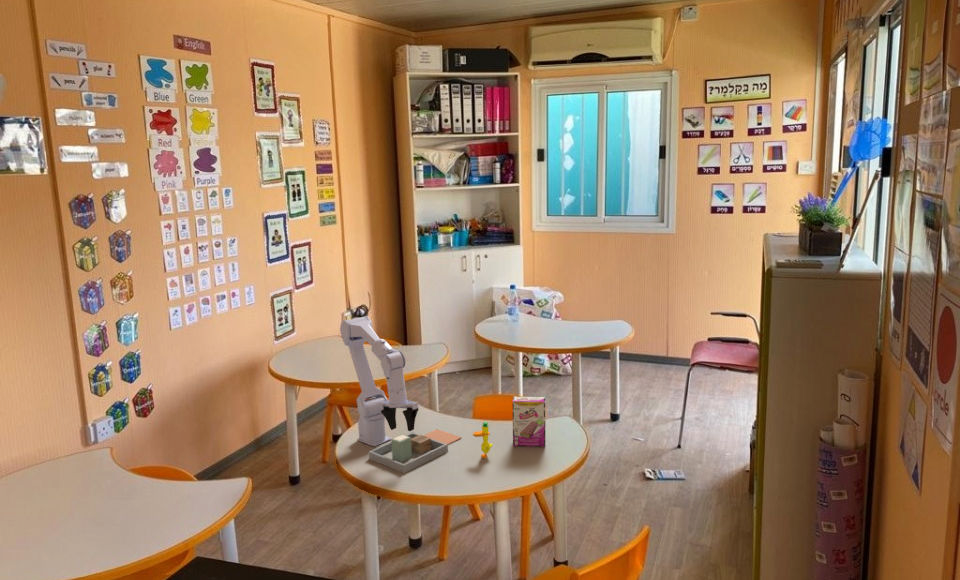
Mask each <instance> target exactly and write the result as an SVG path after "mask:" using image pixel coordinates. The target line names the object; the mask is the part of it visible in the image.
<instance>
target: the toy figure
mask: <svg viewBox="0 0 960 580" xmlns="http://www.w3.org/2000/svg"><path fill="white" fill-rule="evenodd" d="M490 434H491V433H490V432H489V423H488V422H487V421H483V422H482V424H481V430H479V431H473V433H472V436H473V437H475V438H480V437H482V443H481V445H480V448H481V449H480V450H481V451H482V452H483V453H482V454H481V455H480V456H481V458H482V459H486V458H489V457H488V453H489V452H490V450H491V449H492V448H493V445H494V443H490V442H489V435H490Z"/></svg>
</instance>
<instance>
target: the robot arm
mask: <svg viewBox="0 0 960 580" xmlns="http://www.w3.org/2000/svg"><path fill="white" fill-rule="evenodd" d="M339 331H340V335H341V338H342V339H341V340H342V342H343V344H344V346H347V347H348V350H349V353H350V355H351V360H352V363H353V366H354V371H355V373H356V377H357V380H358V383H359V387H360V389H361V393H360V394H359V395H358V396H357V398H356V405H357V413H358V415H359V419H358V421H357V422H358V425H357V426H358V428H357V429H358V438H357V439H356V440H357V441H359V442H362V443H363V444H367V445H369V446H371V447H378V446H380V445H382V444H384V443H386V442H388V441H391V439H392V437H390V436H387V434H386V422H387V424H388V426H389V429H390V431H393V430H395V429H397V420H396V418H397V416H396V414H397V409H404V410H402V414H403V416H404V418H405V421H406V427H407V431H408V432H411V431H413V430H415V423H416V419H417V418H416V417H417V414H418V412H419V403H418V401H412V400H409V399H408V397H407V396H408V395H407V388H406V382H405V374H404V368H405V366H406V357H405V355H404V354H403V352H402V351H401V350H397V349H394V348H393V347H392V346H391V345H390V344H389V343H388V341H386V340H385V339H384V338H380V337H379V336H378V335H377V333H376V331H374V329H373V322H372V320H371V318H369V316H368V315H364V316H362V317H355V318H350V319H343V320H342V321H341V322H340V327H339ZM364 343H368V344H369V345H370V346H371V353H373V354H374V355H375V357H376V358H377V359H378V360H379V361H380V366H381V369H382V371H383V376H384V377H385V378H386V380H385V381H386V386H387V393H388V398H387V396H386V394H385V392H384V390H382V389H380V388H378V387H376V384H375V383H376V382H375V380H374V376H373V374H372V370H371V367H370V363H369V361H368V357H367V354H366V350H365V348H364V347H365V346H364Z"/></svg>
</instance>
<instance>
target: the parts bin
mask: <svg viewBox="0 0 960 580" xmlns="http://www.w3.org/2000/svg"><path fill="white" fill-rule="evenodd" d="M404 435H405V436H408V437H411V439H412V438H414V437H416V436H418V435H420V434H419V433H416V432H410V433H407V434H404ZM431 448H434V449H432V450H429V452H428V451H427V452H426V453H424V454H422V455H420V456H417V457H416V458H414V459H412V460H410V461H407V462H406V463H403V462H401V463H400V462H398V461H395V460H393V459H392V458H390V457H387V456H384V454H386V453H389V452H390V451H392V443H391V441H390V442H387V443H385V444H383V445H381V446H380V445H379V447H378V446H377V447H376V448H374V449H372V450H369V451H368V459H369V460H371V461H373V462H375V463H379V464H380V465H384V466H386V467H389V468H391V469H393V470H395V471H398V472H400V473H403V474H405V473H407V472H409V471H411V470H413V469H415V468H417V467H420V466H421V465H424V464H425V463H428V462H429V461H432V460H434V459H436V458H437V457H439V456H441V455H444V454H446V453H447V452H449V445H448V444H445V443H442V442H440V441H437V440H434V439H431Z"/></svg>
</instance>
